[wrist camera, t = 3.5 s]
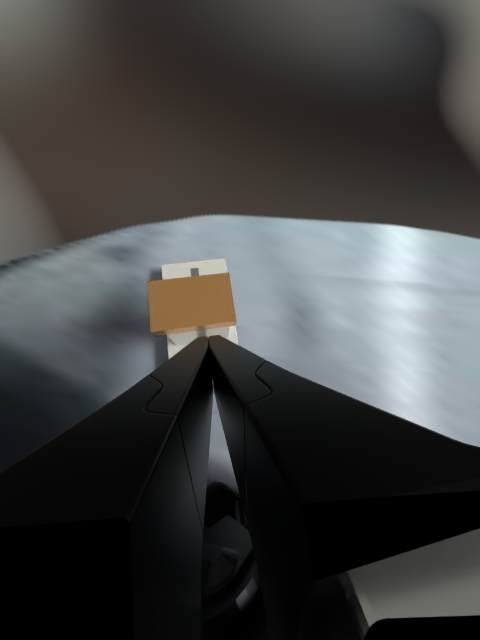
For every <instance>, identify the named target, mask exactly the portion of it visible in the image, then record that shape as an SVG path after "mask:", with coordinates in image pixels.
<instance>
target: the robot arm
mask: <svg viewBox="0 0 480 640" xmlns="http://www.w3.org/2000/svg"><path fill="white" fill-rule="evenodd" d="M213 388H214V394H215V398H216V402H217V406H218V410H219V414H220V418H221V422H222V426H223V430H224V434H225V438H226V442H227V446H228V450H229V454H230V458H231V462H232V466H233V470H234V474H235V478H236V482H237V486H238V490H239V494H240V496H239V495H238V494H236V493H235V492H234V491H233V490H231V489H230V488H229V487H228V486H227V485H225V484H224V483H219V484H218V485H217V486H216V487H215V489H214V490H213V492H212V493H211V495H210V496H209V498H208V499H207V501H206V502H205V500H206V487H207V473H208V459H209V445H210V431H211V418H212V404H213ZM221 488H222V489H224V492H223V493H222V494H220V493H219V492H218V490H219V489H221ZM0 640H480V447H477V446H473V445H469V444H465V443H462V442H460V441H457V440H454V439H452V438H449V437H447V436H444V435H442V434H439V433H437V432H435V431H432V430H430V429H427V428H425V427H422V426H420V425H418V424H415V423H413V422H410V421H408V420H405V419H403V418H401V417H398V416H396V415H393V414H391V413H388V412H386V411H384V410H381V409H379V408H376V407H374V406H371V405H369V404H367V403H364V402H362V401H359V400H357V399H354V398H352V397H350V396H347V395H345V394H342V393H340V392H337V391H335V390H333V389H330V388H328V387H325V386H323V385H320V384H318V383H316V382H313V381H311V380H308V379H306V378H303V377H301V376H299V375H296V374H294V373H292V372H289V371H287V370H285V369H283V368H281V367H279V366H277V365H275V364H273V363H271V362H269V361H267V360H265V359H263V358H261V357H259V356H257V355H256V354H254V353H252V352H250V351H248V350H246V349H244V348H243V347H241V346H239V345H237V344H235V343H233V342H232V341H230V340H228V339H226V338H224V337H222V336H220V335H213V336H209V338H208V337H207V336H203V337H197V338H196V339H194V340H193V341H192V342H191V343H189V344H188V345H187V346H185V347H184V348H183V349H181V350H180V351H179V352H178V353H176V354H175V355H174V356H172V357H171V358H170V359H169V360H167V361H166V362H165V363H163V364H162V365H161V366H159V367H158V368H157V369H156V370H154V371H153V372H152V373H150V374H149V375H147V376H146V377H145V378H143V379H142V380H141V381H139V382H138V383H137V384H135V385H134V386H132V387H131V388H130V389H128V390H127V391H125V392H124V393H122V394H121V395H119V396H118V397H116V398H115V399H113V400H112V401H110V402H109V403H107V404H106V405H104V406H103V407H101V408H99V409H98V410H96V411H95V412H93V413H92V414H90V415H89V416H87V417H86V418H84V419H82V420H81V421H79V422H78V423H76V424H75V425H73V426H72V427H70V428H68V429H67V430H65V431H64V432H62V433H61V434H59V435H58V436H56V437H54V438H53V439H51V440H50V441H48V442H47V443H45V444H44V445H42V446H40V447H39V448H37V449H36V450H34V451H33V452H31V453H30V454H28V455H26V456H25V457H23V458H22V459H20V460H19V461H17V462H16V463H14V464H12V465H11V466H9V467H8V468H6V469H5V470H3V471H2V472H0Z"/></svg>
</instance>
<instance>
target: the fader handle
mask: <svg viewBox="0 0 480 640" xmlns="http://www.w3.org/2000/svg"><path fill="white" fill-rule="evenodd" d="M148 296H149V313H150V329H151V333H152V334H154V335H155V336H162V335H166V336H167V337H169V338H170V339H171V340H172V341H173V342H174V343H175V344H176V345H180V344H187V343H191V342H192V341H193V340H194V339H196V338H197V337H203V336H207V337H208V338H209V336H213V335H220V336H222V337H224V338H228V336H229V327H230V326H235V325H236V315H235V309H234V302H233V296H232V289H231V283H230V276H229V272H228V273H219V274H210V275H200V276H191V277H182V278H173V279H164V280H155V281H148Z"/></svg>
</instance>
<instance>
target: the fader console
mask: <svg viewBox="0 0 480 640" xmlns="http://www.w3.org/2000/svg"><path fill="white" fill-rule="evenodd" d="M161 266H162V279H163V280H164V279H173V278H182V277H191V276H200V275H210V274H219V273H227V267H226V260H225V259H216V260H206V261H197V262H187V263H177V264H168V265H161ZM226 339H228V340H230V341H232V342H233V343H235V344H237V345H238V339H237V332H236V326H230V327H229V336H228V338H226ZM167 343H168V356H169V359H170V358H171V357H172V356H174V355H175V354H176V353H178V352H179V351H180V350H181V349H183V348H184V347H185V346H187V345H188V344H189V343H187V344H180V345H176V344H175V343H174V342H173V341H172V340H171V339H170V338H169V337H167Z"/></svg>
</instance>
